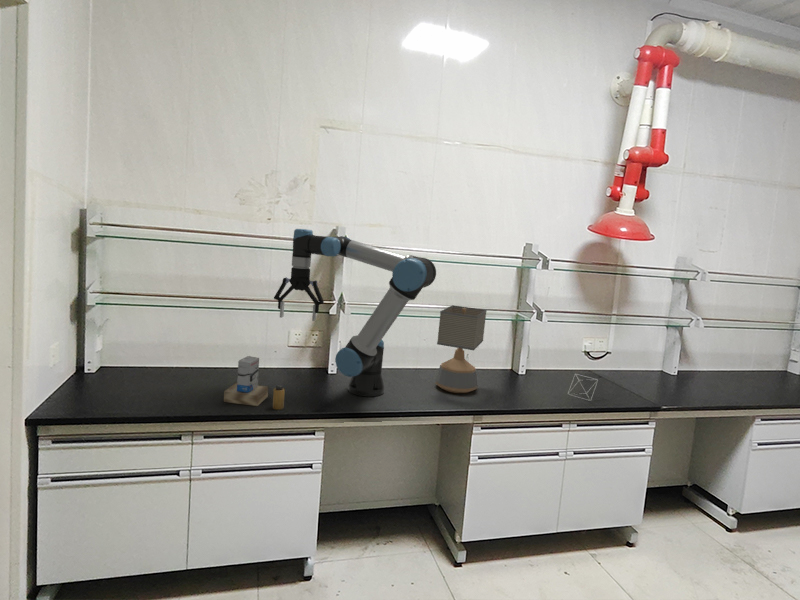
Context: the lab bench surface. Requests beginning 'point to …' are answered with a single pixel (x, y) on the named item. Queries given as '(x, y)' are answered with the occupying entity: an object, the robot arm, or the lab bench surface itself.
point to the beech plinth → (246, 395)
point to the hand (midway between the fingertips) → (297, 318)
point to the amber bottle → (278, 397)
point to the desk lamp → (459, 346)
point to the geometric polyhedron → (582, 386)
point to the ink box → (247, 374)
